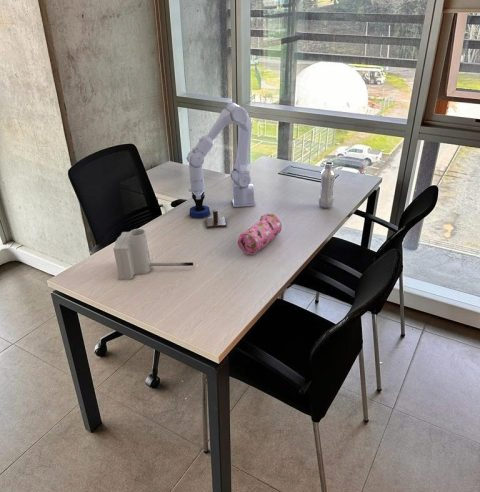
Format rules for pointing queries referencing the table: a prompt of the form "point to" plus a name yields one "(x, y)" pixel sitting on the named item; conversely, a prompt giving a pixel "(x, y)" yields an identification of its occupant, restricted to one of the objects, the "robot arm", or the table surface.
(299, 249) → the table surface
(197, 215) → the ring
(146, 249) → the electronic device
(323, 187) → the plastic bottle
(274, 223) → the pencil case
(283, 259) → the table surface
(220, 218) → the stand
